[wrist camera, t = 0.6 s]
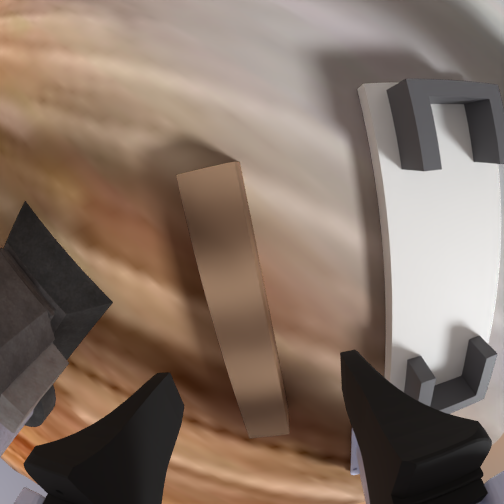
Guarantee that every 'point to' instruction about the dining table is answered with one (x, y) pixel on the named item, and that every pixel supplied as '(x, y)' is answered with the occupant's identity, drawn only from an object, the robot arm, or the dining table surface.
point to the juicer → (38, 321)
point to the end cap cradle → (438, 232)
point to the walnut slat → (236, 293)
